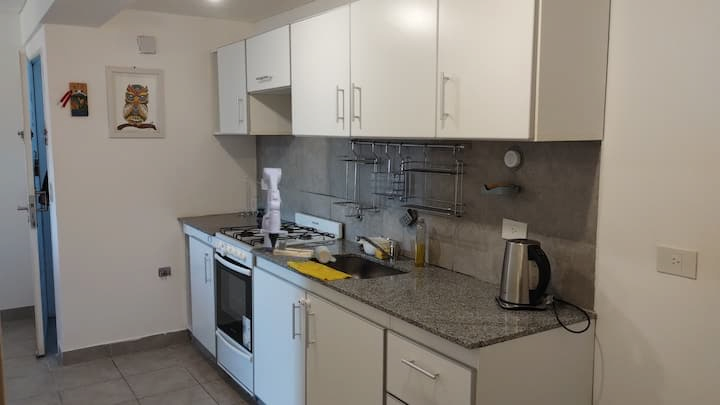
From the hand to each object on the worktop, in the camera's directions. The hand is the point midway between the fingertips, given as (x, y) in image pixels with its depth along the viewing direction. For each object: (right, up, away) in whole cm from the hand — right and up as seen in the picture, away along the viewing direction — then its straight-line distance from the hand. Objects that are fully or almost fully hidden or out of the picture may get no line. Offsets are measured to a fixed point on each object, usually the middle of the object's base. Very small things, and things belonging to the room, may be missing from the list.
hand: (273, 247), depth 311 cm
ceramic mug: (+28, -7, -12) cm, 31 cm away
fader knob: (+5, -1, 0) cm, 5 cm away
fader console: (+11, -4, 0) cm, 11 cm away
